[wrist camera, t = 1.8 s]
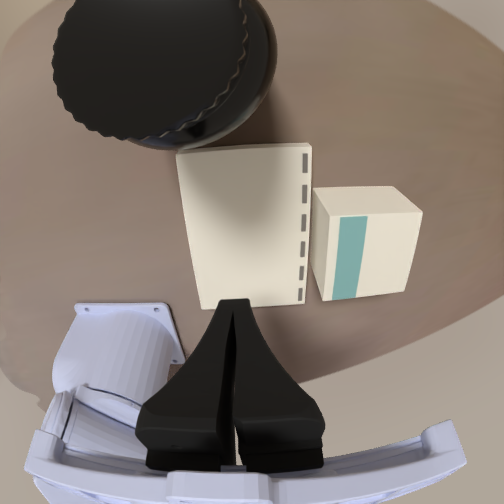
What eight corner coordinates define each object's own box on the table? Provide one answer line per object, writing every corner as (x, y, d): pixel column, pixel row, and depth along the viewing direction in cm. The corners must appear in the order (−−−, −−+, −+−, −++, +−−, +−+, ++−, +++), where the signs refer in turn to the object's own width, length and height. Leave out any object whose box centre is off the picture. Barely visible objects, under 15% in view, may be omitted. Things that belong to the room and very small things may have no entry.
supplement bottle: (286, 59, 15) (363, 23, 5) (216, 144, 18) (179, 240, 7) (194, 0, 12) (127, -98, 2) (128, 87, 15) (-10, 114, 5)
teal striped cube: (309, 262, 23) (323, 302, 19) (312, 187, 19) (330, 216, 16) (381, 255, 23) (404, 292, 19) (391, 185, 19) (423, 213, 15)
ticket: (203, 299, 24) (201, 310, 23) (179, 150, 18) (175, 155, 17) (302, 293, 24) (304, 304, 23) (307, 142, 18) (312, 147, 17)
